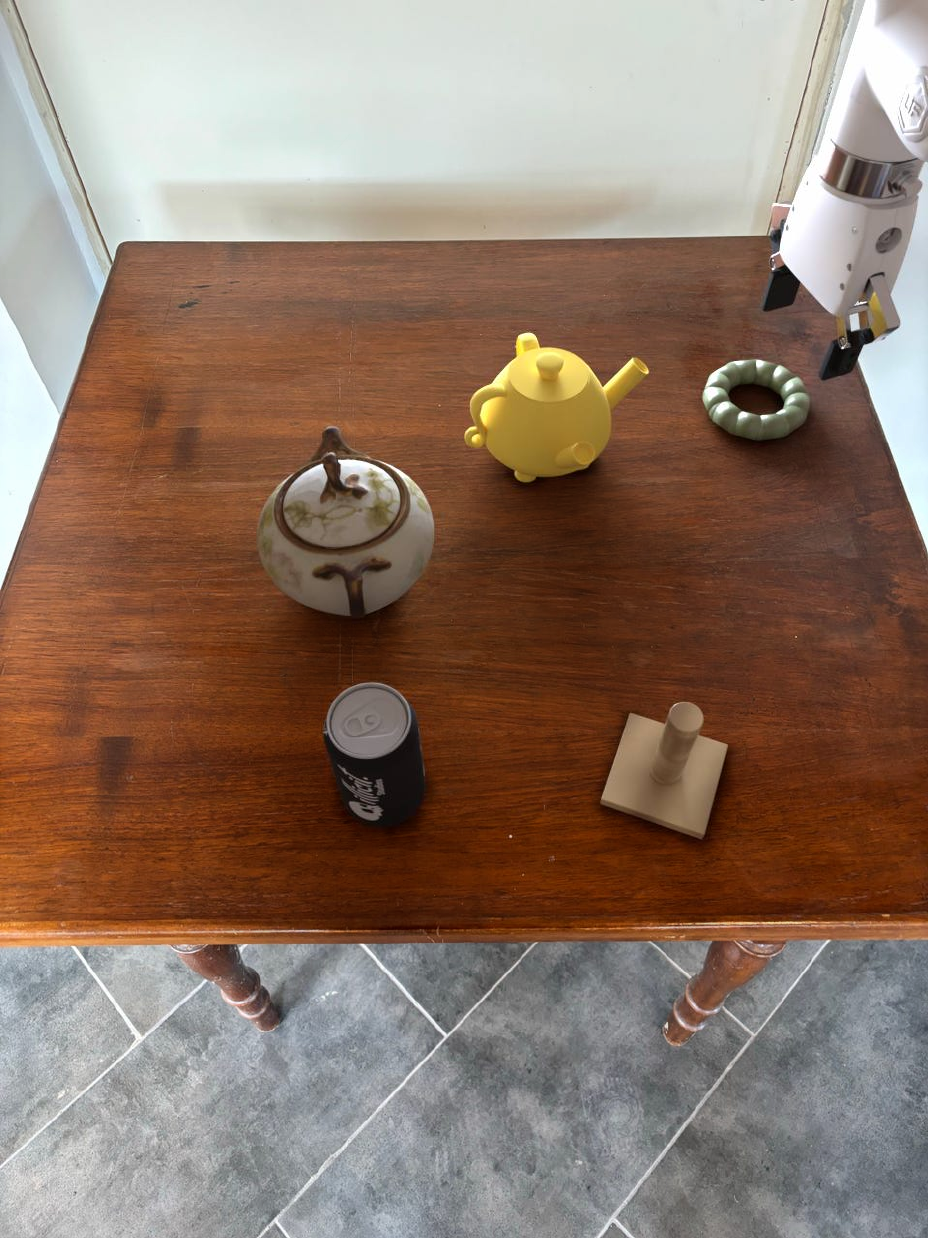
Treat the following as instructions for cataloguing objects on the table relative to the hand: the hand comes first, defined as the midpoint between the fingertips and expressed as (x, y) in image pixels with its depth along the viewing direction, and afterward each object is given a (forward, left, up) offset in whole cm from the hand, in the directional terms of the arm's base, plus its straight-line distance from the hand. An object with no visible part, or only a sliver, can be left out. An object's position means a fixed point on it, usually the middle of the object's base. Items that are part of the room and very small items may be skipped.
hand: (804, 339), depth 85 cm
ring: (+2, -3, -10) cm, 11 cm away
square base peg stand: (0, +40, -12) cm, 42 cm away
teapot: (+19, +10, -12) cm, 25 cm away
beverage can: (+20, +49, -12) cm, 55 cm away
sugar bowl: (+31, +31, -12) cm, 46 cm away
